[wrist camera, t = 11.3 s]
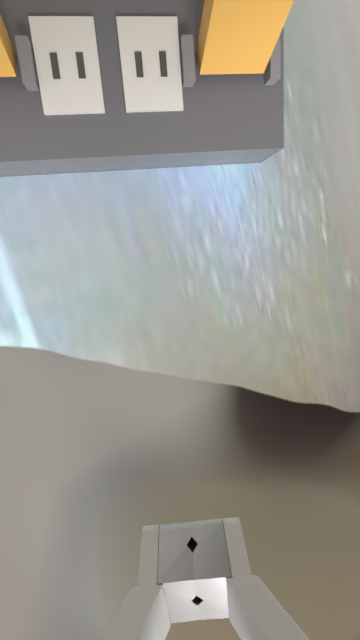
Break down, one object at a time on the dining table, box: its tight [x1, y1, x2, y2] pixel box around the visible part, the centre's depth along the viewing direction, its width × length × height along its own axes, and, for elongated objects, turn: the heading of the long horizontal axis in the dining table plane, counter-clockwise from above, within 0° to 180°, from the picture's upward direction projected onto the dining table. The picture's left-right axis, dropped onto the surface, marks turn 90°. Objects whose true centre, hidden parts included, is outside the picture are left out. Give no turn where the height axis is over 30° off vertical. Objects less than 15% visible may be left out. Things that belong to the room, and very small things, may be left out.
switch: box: [196, 0, 294, 75], centre depth 20 cm, size 5×2×8 cm, turn 95°
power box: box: [0, 0, 284, 177], centre depth 26 cm, size 27×12×6 cm, turn 95°
